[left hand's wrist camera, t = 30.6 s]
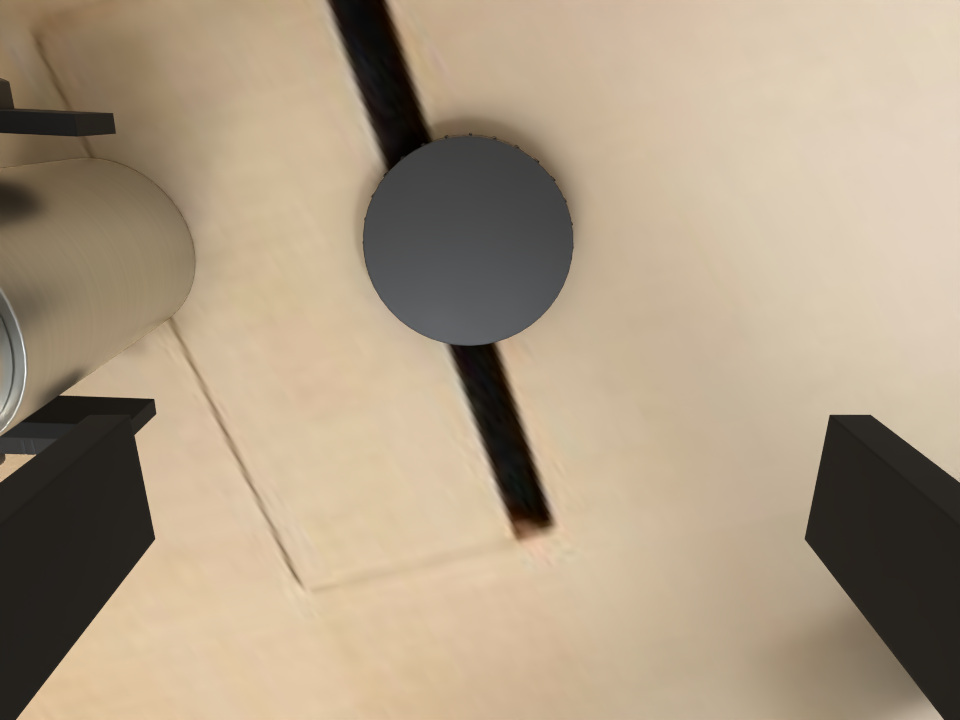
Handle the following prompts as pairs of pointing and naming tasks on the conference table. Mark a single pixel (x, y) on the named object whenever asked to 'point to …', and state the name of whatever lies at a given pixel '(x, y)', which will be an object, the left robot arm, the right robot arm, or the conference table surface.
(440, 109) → the conference table surface
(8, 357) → the jar
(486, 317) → the lid
